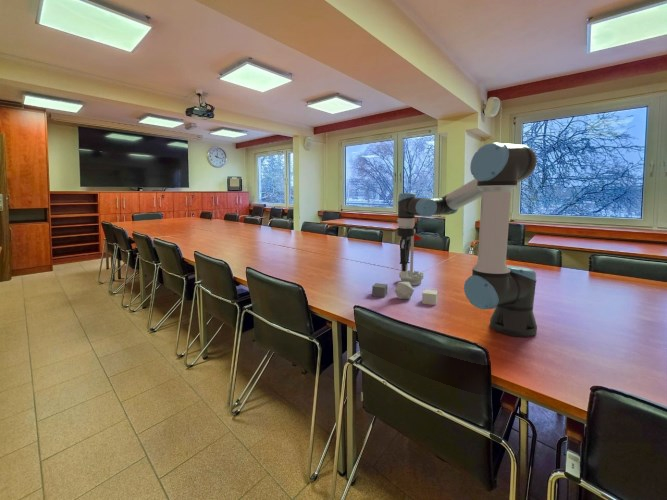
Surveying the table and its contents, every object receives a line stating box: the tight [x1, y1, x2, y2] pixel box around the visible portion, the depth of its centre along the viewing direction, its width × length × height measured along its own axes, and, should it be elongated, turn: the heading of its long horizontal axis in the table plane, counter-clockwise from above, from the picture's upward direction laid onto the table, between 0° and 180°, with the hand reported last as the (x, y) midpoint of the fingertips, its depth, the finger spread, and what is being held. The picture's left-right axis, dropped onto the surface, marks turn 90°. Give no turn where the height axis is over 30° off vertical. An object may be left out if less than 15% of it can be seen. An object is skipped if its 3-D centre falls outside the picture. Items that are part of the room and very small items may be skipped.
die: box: [394, 281, 415, 300], centre depth 157 cm, size 8×9×10 cm
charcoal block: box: [371, 282, 388, 298], centre depth 163 cm, size 6×6×5 cm
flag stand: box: [398, 228, 425, 286], centre depth 182 cm, size 13×13×30 cm
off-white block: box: [421, 288, 439, 306], centre depth 151 cm, size 6×6×5 cm
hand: (404, 277), depth 156 cm, fingers closed
